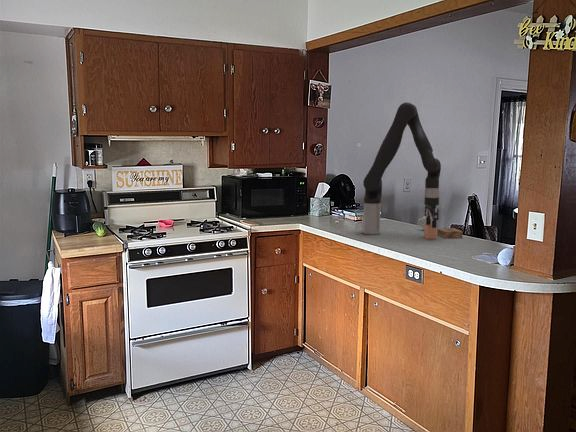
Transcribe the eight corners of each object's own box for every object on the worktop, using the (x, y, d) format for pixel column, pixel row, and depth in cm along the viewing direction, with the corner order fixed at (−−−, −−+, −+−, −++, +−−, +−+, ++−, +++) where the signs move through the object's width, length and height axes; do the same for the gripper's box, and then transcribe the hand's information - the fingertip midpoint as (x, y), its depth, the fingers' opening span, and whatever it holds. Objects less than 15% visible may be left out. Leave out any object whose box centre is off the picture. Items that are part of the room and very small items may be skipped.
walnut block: (444, 239, 287) (444, 231, 287) (437, 235, 297) (437, 228, 296) (462, 238, 288) (462, 231, 288) (454, 235, 298) (454, 228, 298)
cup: (415, 230, 310) (416, 217, 309) (419, 228, 317) (419, 215, 316) (434, 232, 305) (435, 218, 304) (437, 230, 312) (438, 216, 311)
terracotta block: (426, 239, 286) (427, 226, 285) (423, 237, 291) (424, 224, 290) (436, 238, 286) (436, 225, 285) (432, 237, 291) (433, 224, 290)
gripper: (420, 195, 292) (419, 224, 294) (429, 197, 278) (429, 228, 280) (433, 194, 293) (433, 224, 295) (443, 197, 279) (442, 228, 281)
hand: (431, 226), depth 288 cm, fingers open, 8 cm apart
